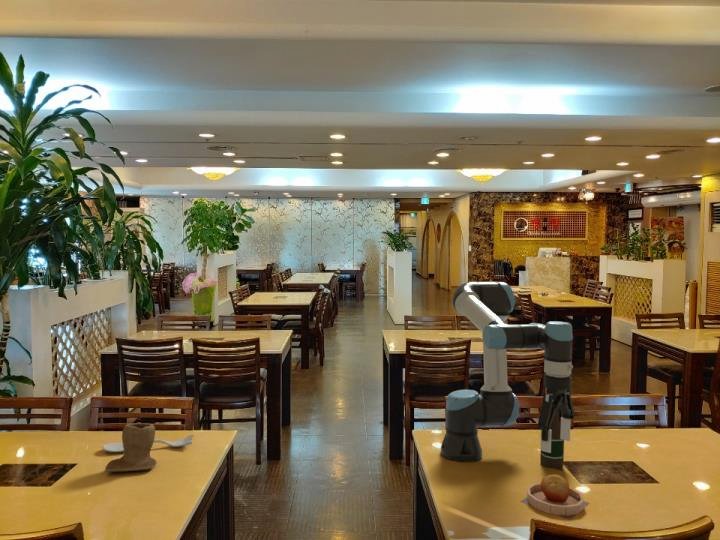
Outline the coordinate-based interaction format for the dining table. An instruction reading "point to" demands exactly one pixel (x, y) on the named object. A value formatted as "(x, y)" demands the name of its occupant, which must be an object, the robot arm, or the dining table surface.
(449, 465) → the dining table surface
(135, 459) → the brown boot
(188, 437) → the spoon
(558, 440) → the beer bottle
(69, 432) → the dining table surface
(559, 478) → the fruit
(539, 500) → the bowl
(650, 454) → the dining table surface
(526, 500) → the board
